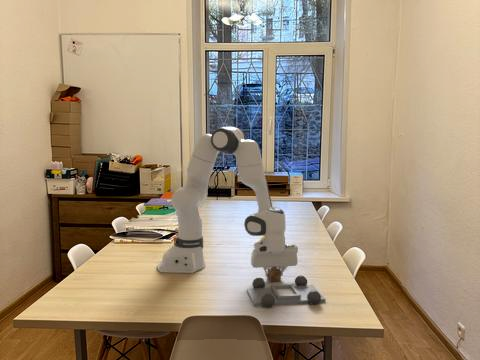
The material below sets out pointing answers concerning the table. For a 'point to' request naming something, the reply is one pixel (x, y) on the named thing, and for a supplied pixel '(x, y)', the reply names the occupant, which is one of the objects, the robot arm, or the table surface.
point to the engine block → (274, 274)
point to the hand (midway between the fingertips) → (273, 275)
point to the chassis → (284, 293)
